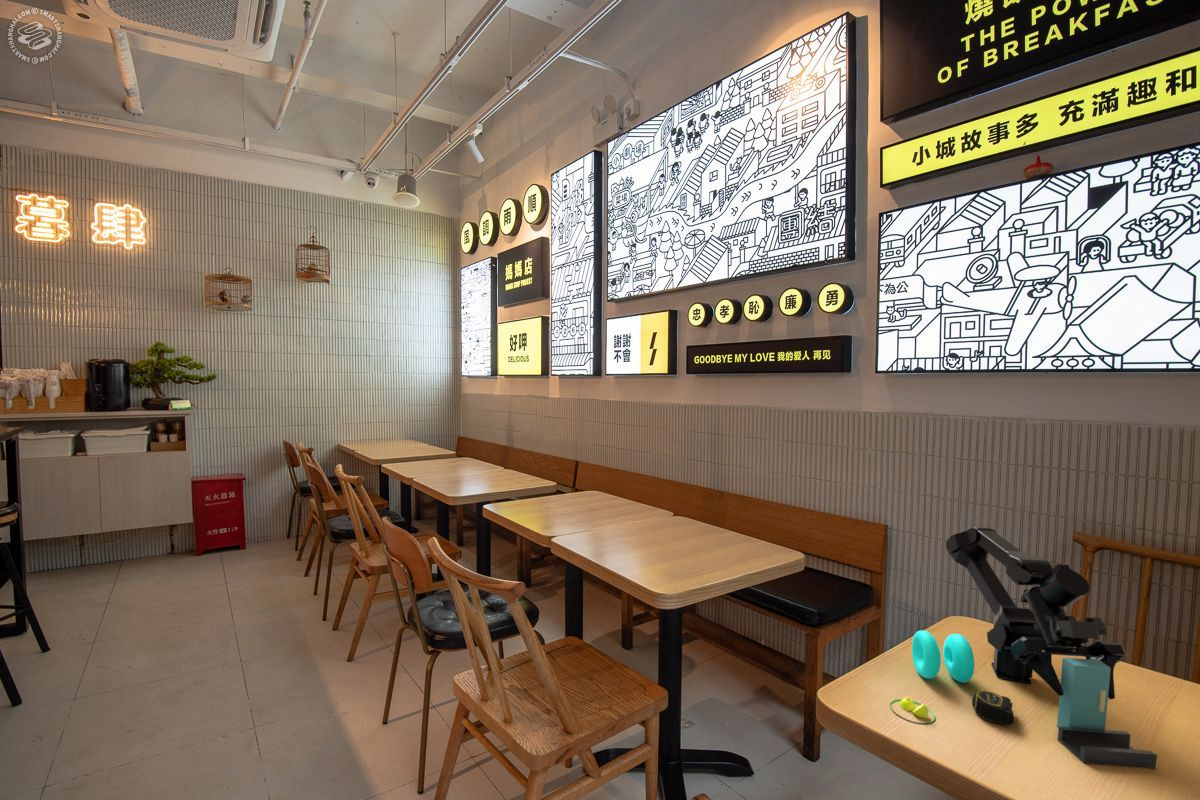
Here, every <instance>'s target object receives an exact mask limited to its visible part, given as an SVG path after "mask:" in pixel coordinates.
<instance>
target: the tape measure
mask: <svg viewBox="0 0 1200 800" xmlns="http://www.w3.org/2000/svg"><path fill="white" fill-rule="evenodd" d="M971 700H972V701H971V706H972V707H973V710H974V712H975V713H976V714H977V715H979V716H980V717H981V718H983V719H985V720H987V721H989V722H993V723H999V724H1002V725H1003V724H1004V725H1013V724H1014V720H1015V715H1014V711H1013V710H1012V709H1013V705H1014V703H1013V702H1011V699H1010V698H1009V697H1007V696H1004V695H1003V696H1001V695H999V694H997V693H995V692H992V691H987V690H977V691H975V693H974V694H973V696H972V699H971Z"/></svg>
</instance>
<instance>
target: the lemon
mask: <svg viewBox="0 0 1200 800" xmlns="http://www.w3.org/2000/svg"><path fill="white" fill-rule="evenodd" d="M898 701H899V704H898V705H900V706H899V707H900V708H901V709H903V710H904V711H907V712H911V713H912V714H914V715H915V716H917V718H922V719H923V718H924V719H928V713H930V714H931V715H932V720H931V721H929V722H928V724H930V723H933V722H934V721H935V720H936V715H935V713H934V712H933V711H932V710H931V709H930V708H929V707H928V706H926V704H925V703H922V704H921V703H919V702H917V701H914V700H912V699H910V697H909V696H907V697H904V698H901V699H894V700H892V701H891V702H890V708H891V710H892V711H893V710H894V709H892V708H893V705H892V704H893V703H894V704H895V703H898ZM891 705H892V707H891ZM915 705H918V706H917V707H916V706H915ZM896 715H897V716H898V715H899V714H897V713H896ZM904 719H905V718H904ZM905 720H906V719H905Z"/></svg>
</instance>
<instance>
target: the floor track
mask: <svg viewBox="0 0 1200 800" xmlns="http://www.w3.org/2000/svg"><path fill="white" fill-rule="evenodd" d="M1057 741H1058V742H1060V744H1062V746H1064V747H1065V748H1066V749H1067V750H1069V752H1070V753H1072V754H1073V755H1074V757H1076V758H1077V759H1078V760H1079V761H1081V763H1083V764H1089V765H1100V766H1111V767H1112V766H1115V767H1126V768H1138V769H1154V770H1156V768H1157V760H1158V759H1157V758H1158V754H1157V753H1156V752H1154V751H1153V750H1144V749H1143V750H1142V749H1136V748H1134V747H1133V746H1131V734H1130V733H1129V732H1128V731H1125V730H1115V729H1114V730H1112V729H1105V730H1100V729H1087V728H1073V727H1059V728H1058V730H1057Z"/></svg>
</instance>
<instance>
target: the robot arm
mask: <svg viewBox="0 0 1200 800" xmlns="http://www.w3.org/2000/svg"><path fill="white" fill-rule="evenodd" d="M945 548H946V551H947V552H948V554H949V555H950V557H951V558H952V559H953V561H954V562H955V563H957V564H959V565H960V566H962V567H963V568H965V569H967V571H968V572H969V574H970V577H971V578H972V579H973V581H974V583H975V584H976V586H977V588H978V589H979V591H980V592H981V594H982V596H983V598H984V600H985V601H986V603H987V604H988V606H989V607H990V610H991V611H992V612H993V614H994V620H993V628H991V629H989V630H988V631H987V632H986V638H987V643H988V644H990V645H991V646H992V647H994V652H993V654H994V655H993V662H991V663H990V665H991V667H992V669H993V672H994V674H995V676H996V677H997V678H999V679H1003V680H1004V679H1005V680H1010V681H1015V682H1019V683H1025V684H1028V685H1031V684H1032V680H1031V679H1032V678H1033V673H1034V672H1035V674H1037V675H1038V676H1039V677H1040V678H1041V679H1042V680H1043V681H1044V683H1046V684H1047V685H1048V686H1049V688H1051V689H1052V690H1053V691H1054V693H1055V694H1057V695H1058V696H1059V697H1060V696H1063V695H1064V693H1063V689H1062V686H1061V681H1060V679H1059V677H1058V675H1057V673H1056V670H1055V668H1054V665H1053V663H1052V661H1053V660H1052V657H1053V655H1055V656H1068V657H1069V656H1072V657H1083V658H1084V659H1095V660H1099V661H1101V662H1102V663H1104V664H1106V665H1107V666H1109V667H1110V668H1111V671H1110V682H1109V692H1108V700H1115V698H1116V693H1115V681H1114V680H1115V679H1114V673H1115V672H1114V670H1115V666H1116V664H1118V663H1120V662H1121V661H1122V659H1124V658H1126V657H1127V656H1128V655H1127V654H1126V652H1125V649H1124V648H1123V646H1122V644H1119V643H1118V642H1116V641H1105V640H1103V641H1101V638H1100V636H1106V635H1107V634H1108V630H1107V628H1106V627H1107V626H1106V625H1105V623H1104V620H1103V619H1102V618H1101V617H1092V616H1091V617H1085V621H1082V620H1081V621H1080V620H1077V619H1076V618H1075V617H1074V616H1073V615H1068V612H1067V610H1066V609H1065V608H1066V607H1069V606H1072V605H1073V604H1074V603H1075V602H1077V601H1079V600H1080V599H1081V598H1083V597H1085V596H1086V595H1087V594H1089V591H1090V585H1089V582H1088V581H1087V579H1086V578H1084V577H1083V576H1082V575H1081V574H1080V573H1078V572H1077V571H1075V570H1072V569H1071V567H1070V565H1069V564H1067V563H1066V564H1065V563H1063V564H1062V563H1058V564H1056V565H1055V566H1054V567H1053V566H1052V565H1051V563H1050V561H1048V560H1046V559H1044V558H1041V557H1040V556H1037V555H1034V554H1029V553H1026V552H1024V551H1022V550H1021V549H1019V548H1017V546H1015V545H1013V544H1012V543H1011V542H1009V541H1008V540H1006V539H1005V538H1004V537H1002V536H1001V535H1000V534H998V533H997V532H996V530H995V529H993V528H991V527H982V526H981V527H980V526H973V527H970V528H969V529H967V530H964V531H962V532H958V533H955V534H952V535H950V537H949V538H947V540H946V542H945ZM988 554H989V555H991V556H992V557H993V558H994V559H996V560H997V561H998V562H999V563H1000V564H1002V565H1003V566H1004V567H1005V574H1006V575H1007V576H1008V578H1010V580H1011V581H1013V583H1014V584H1016V585H1018V586H1031V588H1030V589H1023V594H1022V595H1021V596H1020V602H1021V603H1027V604H1028V606H1029V608H1030V609H1029V608H1025V607H1024V608H1022V607H1018V606H1017V605H1016V603H1015V602H1014V600H1013V599H1012V597H1011V596H1010V594H1009V593H1008V591H1007V590H1006V588H1005V586H1004V585H1003V583H1002V582H1001V580H1000V579H999V576H997V574H996V572H995V571H994V570H993V568H992V567H991V564H990V563H989V562H988ZM1089 639H1093V640H1097V641H1096V642H1094V643H1091V644H1089V645H1088V646H1086V645H1082V644H1087V643H1088V642H1089Z"/></svg>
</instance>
